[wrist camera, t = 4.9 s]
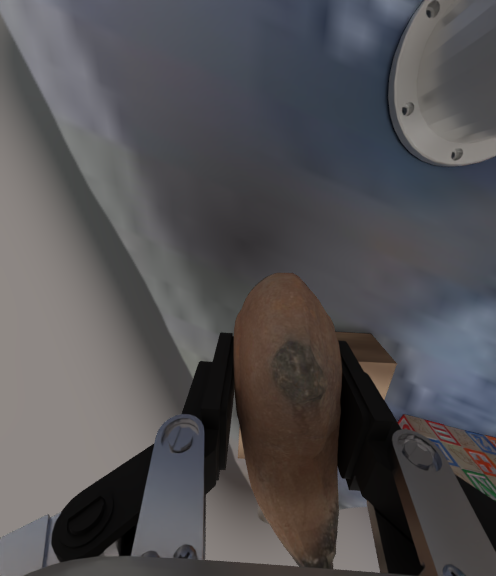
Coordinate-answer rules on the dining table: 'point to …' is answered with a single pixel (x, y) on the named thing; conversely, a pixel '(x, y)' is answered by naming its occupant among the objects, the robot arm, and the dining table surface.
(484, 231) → the dining table surface
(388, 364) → the walnut base block
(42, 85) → the dining table surface
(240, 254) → the dining table surface
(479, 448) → the stack of blocks
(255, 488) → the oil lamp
